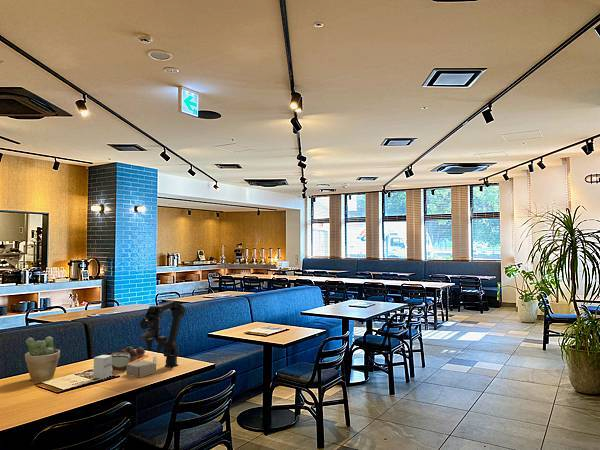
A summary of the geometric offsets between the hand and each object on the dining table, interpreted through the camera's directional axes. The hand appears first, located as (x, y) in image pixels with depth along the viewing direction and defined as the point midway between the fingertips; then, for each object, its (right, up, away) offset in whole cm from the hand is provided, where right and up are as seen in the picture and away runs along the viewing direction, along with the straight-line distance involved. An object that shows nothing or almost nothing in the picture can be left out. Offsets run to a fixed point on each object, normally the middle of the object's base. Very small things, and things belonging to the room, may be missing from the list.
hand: (154, 351), depth 278 cm
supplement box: (-28, -13, -9) cm, 32 cm away
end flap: (-2, -13, -5) cm, 14 cm away
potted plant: (-63, -13, -11) cm, 65 cm away
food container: (-23, -14, +8) cm, 28 cm away
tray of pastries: (-28, -15, +29) cm, 44 cm away
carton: (-8, -13, -1) cm, 15 cm away
